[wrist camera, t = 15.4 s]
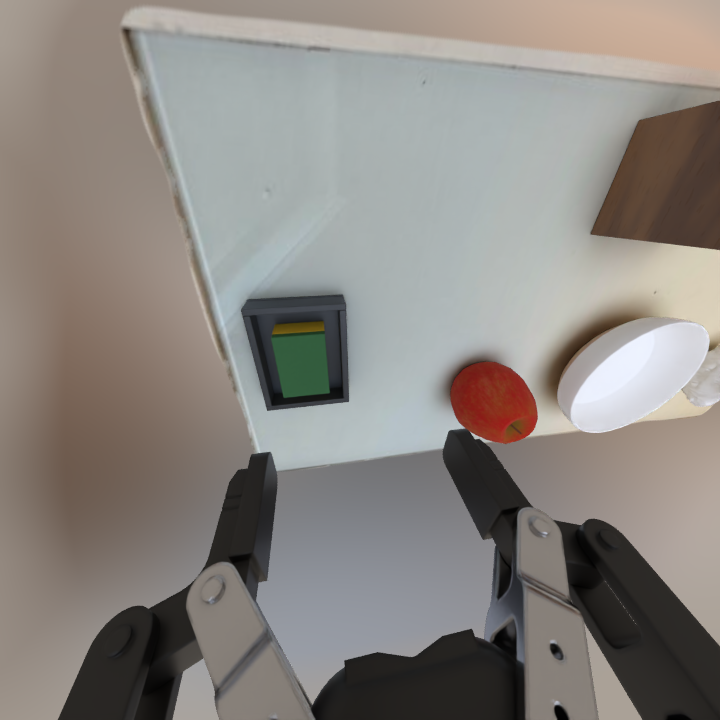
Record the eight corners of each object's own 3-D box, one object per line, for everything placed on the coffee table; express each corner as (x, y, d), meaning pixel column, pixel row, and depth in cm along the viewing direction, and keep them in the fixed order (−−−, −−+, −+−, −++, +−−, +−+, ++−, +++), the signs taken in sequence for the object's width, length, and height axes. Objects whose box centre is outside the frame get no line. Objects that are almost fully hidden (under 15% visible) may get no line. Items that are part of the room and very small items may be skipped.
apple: (443, 413, 42) (478, 469, 34) (441, 364, 37) (482, 415, 28) (502, 397, 43) (552, 448, 34) (509, 345, 37) (571, 390, 28)
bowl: (557, 319, 36) (599, 339, 31) (683, 292, 37) (743, 307, 32) (527, 417, 46) (554, 444, 41) (626, 394, 48) (664, 418, 42)
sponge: (274, 324, 29) (270, 337, 26) (323, 320, 30) (324, 333, 27) (285, 380, 33) (283, 398, 30) (328, 376, 34) (329, 393, 31)
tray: (247, 299, 28) (240, 309, 25) (342, 294, 29) (345, 303, 26) (270, 395, 35) (267, 411, 32) (346, 387, 36) (349, 402, 34)
